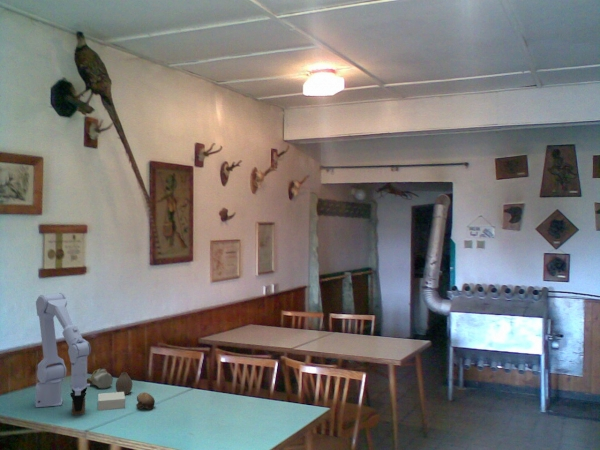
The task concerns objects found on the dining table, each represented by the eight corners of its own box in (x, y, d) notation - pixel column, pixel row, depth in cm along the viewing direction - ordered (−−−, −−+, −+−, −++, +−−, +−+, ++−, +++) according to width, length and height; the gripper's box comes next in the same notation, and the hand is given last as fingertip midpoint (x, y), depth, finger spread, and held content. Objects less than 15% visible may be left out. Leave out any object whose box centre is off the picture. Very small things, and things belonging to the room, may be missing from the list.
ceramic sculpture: (95, 371, 251) (82, 366, 262) (95, 391, 250) (82, 386, 262) (118, 367, 258) (105, 363, 269) (118, 387, 257) (105, 382, 269)
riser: (98, 411, 227) (98, 401, 227) (98, 403, 236) (98, 393, 236) (124, 408, 230) (125, 398, 230) (123, 401, 239) (124, 391, 239)
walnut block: (71, 414, 221) (72, 401, 221) (72, 411, 225) (72, 398, 225) (84, 413, 222) (84, 400, 222) (85, 410, 226) (85, 397, 226)
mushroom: (128, 400, 229) (138, 387, 229) (141, 403, 236) (151, 390, 236) (138, 414, 225) (148, 401, 225) (151, 416, 231) (161, 403, 231)
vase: (129, 396, 245) (129, 375, 245) (113, 395, 245) (113, 375, 245) (134, 391, 252) (134, 371, 252) (118, 391, 252) (118, 370, 252)
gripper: (89, 377, 218) (88, 413, 218) (90, 368, 232) (90, 402, 232) (69, 379, 216) (68, 415, 216) (71, 369, 229) (71, 403, 230)
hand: (78, 408), depth 224 cm, fingers closed on walnut block, 4 cm apart
